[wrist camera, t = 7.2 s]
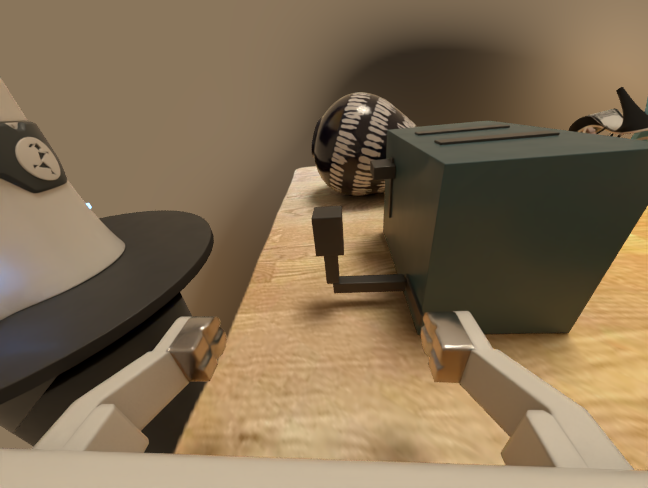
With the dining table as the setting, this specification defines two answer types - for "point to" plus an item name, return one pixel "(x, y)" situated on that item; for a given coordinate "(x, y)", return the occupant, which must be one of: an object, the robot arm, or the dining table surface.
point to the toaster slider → (332, 245)
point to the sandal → (615, 119)
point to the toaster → (508, 219)
